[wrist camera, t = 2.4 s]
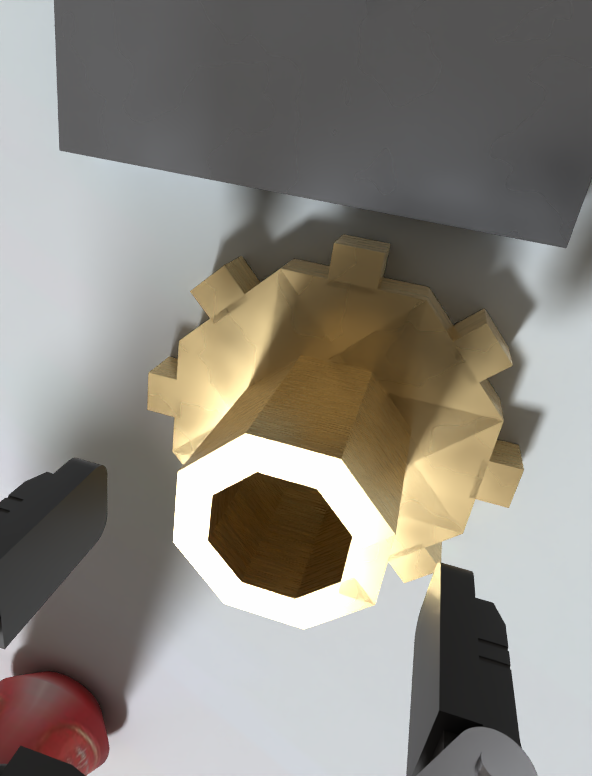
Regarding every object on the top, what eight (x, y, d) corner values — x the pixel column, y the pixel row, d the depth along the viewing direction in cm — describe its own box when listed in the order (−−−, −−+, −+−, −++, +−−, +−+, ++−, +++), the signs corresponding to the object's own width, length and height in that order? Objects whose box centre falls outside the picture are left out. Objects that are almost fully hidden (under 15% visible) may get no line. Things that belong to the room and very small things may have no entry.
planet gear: (581, 282, 15) (657, 369, 10) (460, 597, 21) (461, 776, 15) (177, 200, 17) (38, 232, 12) (161, 507, 23) (60, 634, 17)
